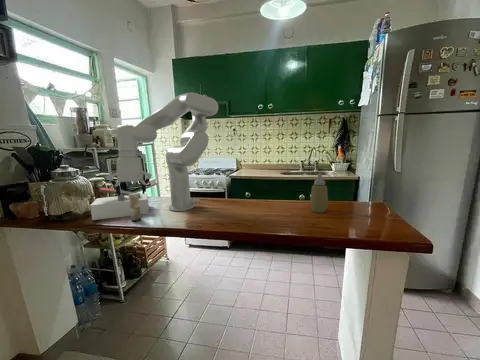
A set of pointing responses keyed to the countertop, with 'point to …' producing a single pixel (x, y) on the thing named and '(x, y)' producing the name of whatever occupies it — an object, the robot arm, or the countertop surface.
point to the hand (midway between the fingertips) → (131, 194)
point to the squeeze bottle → (319, 195)
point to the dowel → (134, 207)
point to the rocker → (107, 190)
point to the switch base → (116, 206)
